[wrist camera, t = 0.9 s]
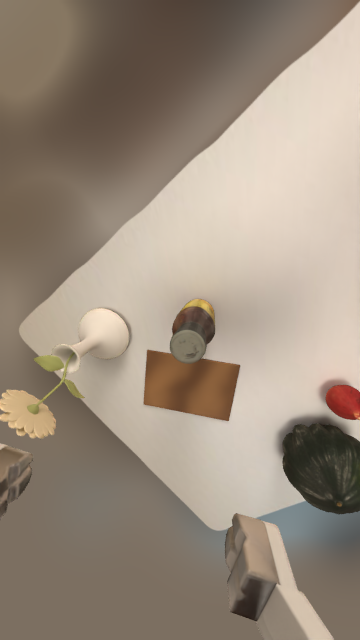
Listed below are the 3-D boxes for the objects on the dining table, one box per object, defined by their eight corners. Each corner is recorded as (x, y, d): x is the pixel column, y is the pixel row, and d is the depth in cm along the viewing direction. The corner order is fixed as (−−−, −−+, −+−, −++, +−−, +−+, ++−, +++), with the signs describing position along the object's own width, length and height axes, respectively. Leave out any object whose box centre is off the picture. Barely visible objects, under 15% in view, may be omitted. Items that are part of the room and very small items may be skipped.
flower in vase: (74, 318, 46) (-73, 375, 22) (116, 298, 43) (0, 340, 20) (102, 368, 49) (-5, 468, 25) (144, 352, 46) (69, 448, 22)
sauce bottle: (210, 330, 42) (208, 384, 23) (180, 324, 43) (155, 371, 24) (217, 299, 40) (222, 330, 21) (186, 293, 41) (164, 317, 22)
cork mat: (239, 365, 43) (240, 365, 43) (228, 420, 47) (228, 421, 47) (147, 349, 46) (147, 350, 45) (143, 403, 49) (143, 404, 49)
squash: (373, 499, 40) (424, 534, 28) (291, 501, 44) (302, 532, 32) (339, 419, 47) (367, 417, 34) (270, 426, 51) (273, 427, 38)
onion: (338, 371, 40) (367, 396, 33) (356, 391, 41) (390, 420, 33) (312, 388, 42) (334, 415, 34) (330, 407, 43) (356, 438, 35)
